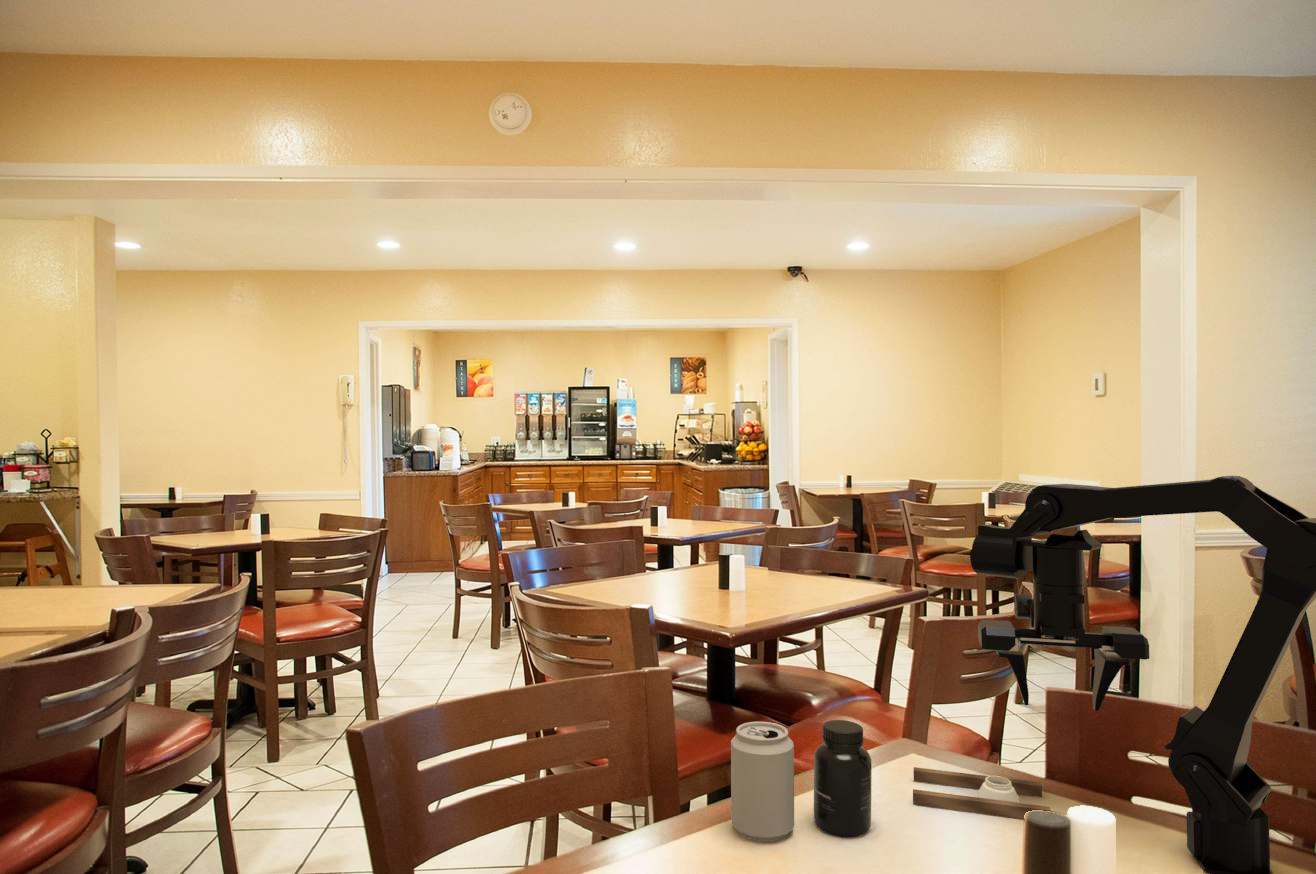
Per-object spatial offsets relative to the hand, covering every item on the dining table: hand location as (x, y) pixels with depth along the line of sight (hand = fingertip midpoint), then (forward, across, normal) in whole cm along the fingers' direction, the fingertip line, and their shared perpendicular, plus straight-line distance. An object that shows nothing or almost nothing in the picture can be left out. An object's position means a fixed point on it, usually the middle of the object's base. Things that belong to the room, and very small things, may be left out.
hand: (1060, 707), depth 99 cm
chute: (+13, +10, 0) cm, 16 cm away
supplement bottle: (+13, +26, +12) cm, 32 cm away
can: (+13, +35, +16) cm, 41 cm away
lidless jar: (+13, +7, 0) cm, 15 cm away
